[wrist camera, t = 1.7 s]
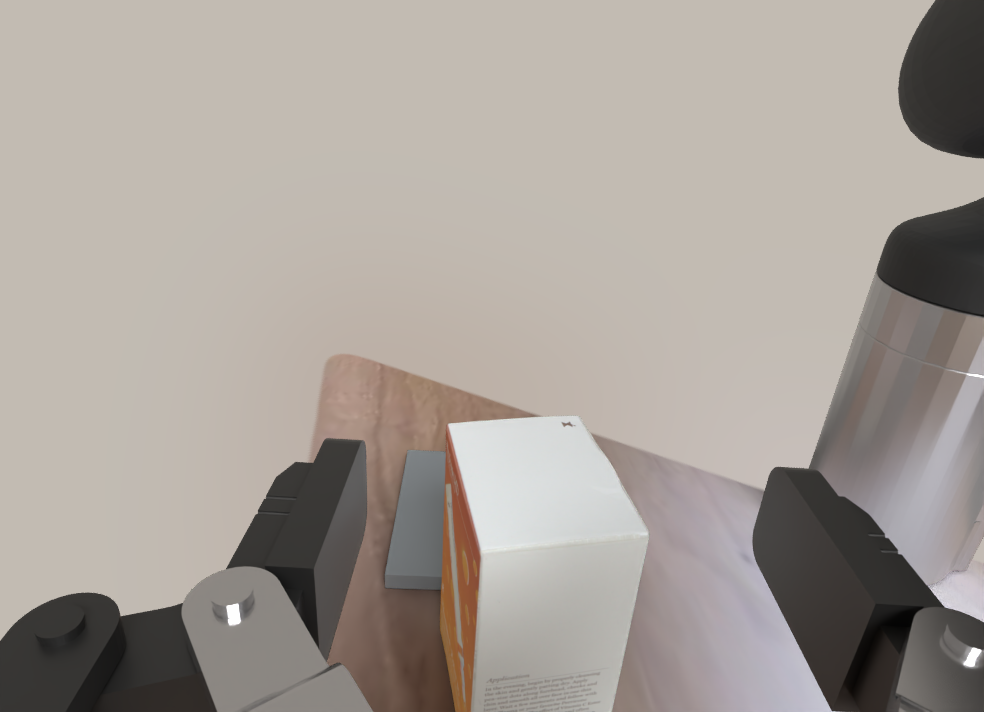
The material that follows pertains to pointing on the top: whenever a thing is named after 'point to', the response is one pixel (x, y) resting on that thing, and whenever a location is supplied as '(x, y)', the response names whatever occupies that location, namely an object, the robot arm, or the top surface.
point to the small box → (536, 567)
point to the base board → (418, 524)
